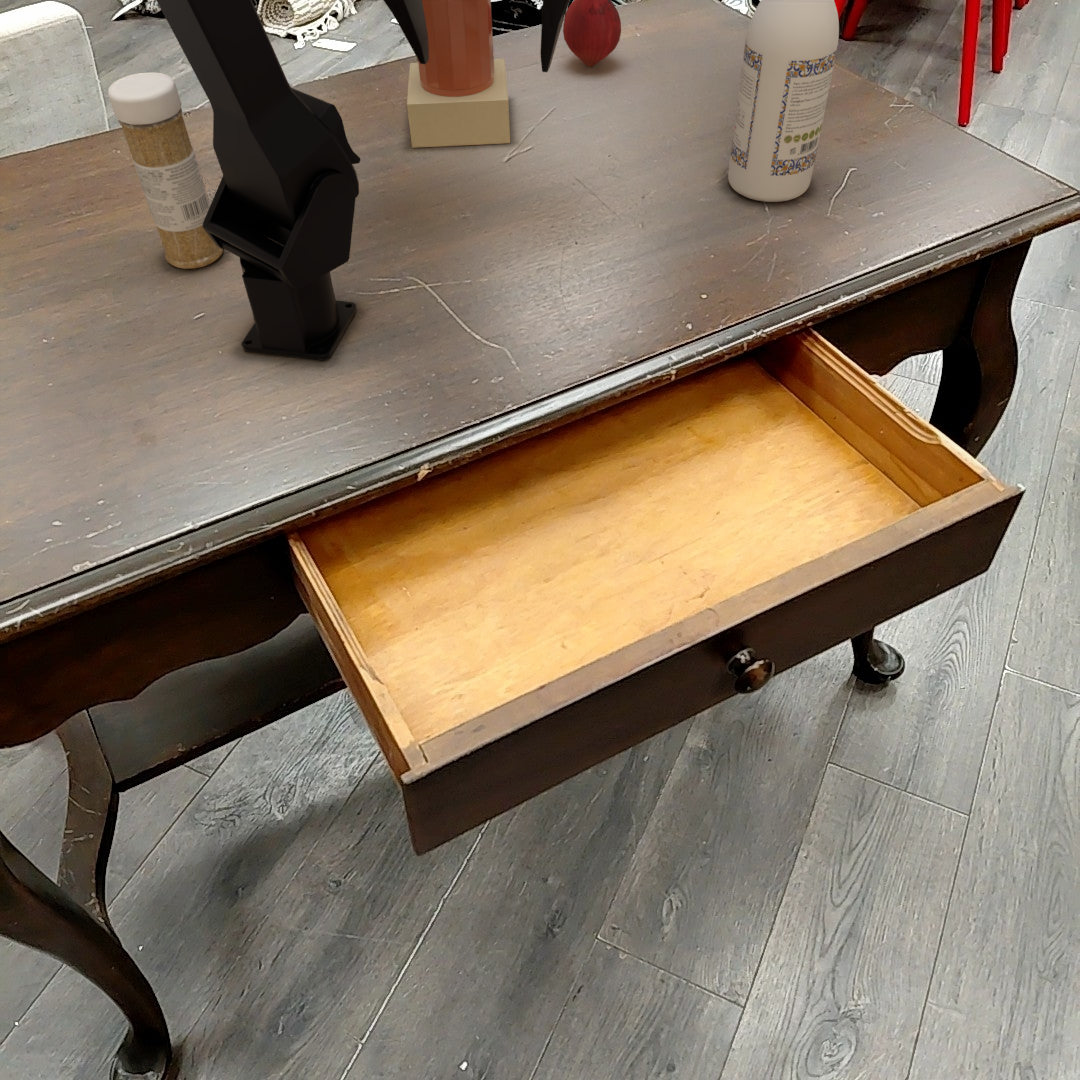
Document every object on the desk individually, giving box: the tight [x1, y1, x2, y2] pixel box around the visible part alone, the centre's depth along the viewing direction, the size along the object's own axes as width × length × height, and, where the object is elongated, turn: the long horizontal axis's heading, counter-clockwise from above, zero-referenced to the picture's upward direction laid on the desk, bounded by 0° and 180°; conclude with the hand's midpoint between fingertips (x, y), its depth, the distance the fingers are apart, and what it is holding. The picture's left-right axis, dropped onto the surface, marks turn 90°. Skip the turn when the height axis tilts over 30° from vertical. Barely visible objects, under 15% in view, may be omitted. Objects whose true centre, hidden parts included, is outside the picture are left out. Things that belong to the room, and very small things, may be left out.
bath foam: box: [727, 0, 840, 203], centre depth 75 cm, size 7×7×20 cm
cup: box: [416, 0, 495, 97], centre depth 86 cm, size 7×7×8 cm
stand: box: [406, 58, 511, 149], centre depth 90 cm, size 9×9×4 cm
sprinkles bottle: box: [107, 71, 224, 270], centre depth 72 cm, size 5×5×14 cm
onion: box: [562, 0, 622, 68], centre depth 97 cm, size 6×6×8 cm
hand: (484, 66), depth 71 cm, fingers open, 9 cm apart
